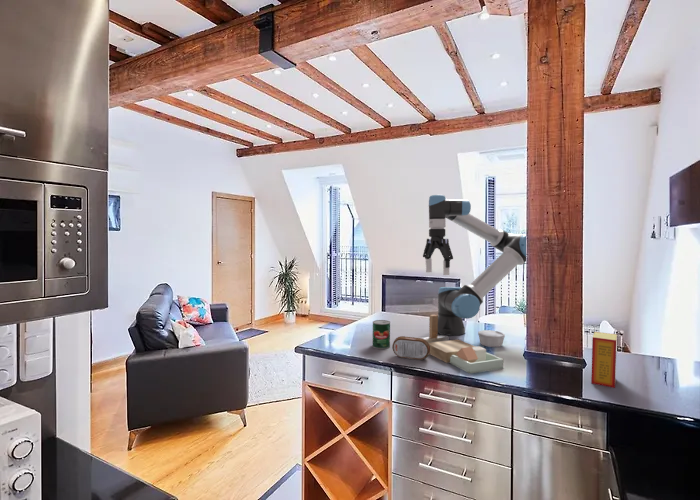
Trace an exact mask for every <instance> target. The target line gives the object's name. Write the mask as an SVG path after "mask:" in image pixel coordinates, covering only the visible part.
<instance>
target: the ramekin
mask: <svg viewBox="0 0 700 500" xmlns="http://www.w3.org/2000/svg"><path fill="white" fill-rule="evenodd" d="M477 335H478V339H479V343H480V344H481V345H482V346H484V347H488V348H499V347H503V344H504V340H505V337H506V334H505V333H503V332H501V331H497V330H489V329H484V330H479V331H478V333H477Z"/></svg>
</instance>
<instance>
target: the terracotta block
mask: <svg viewBox="0 0 700 500" xmlns="http://www.w3.org/2000/svg"><path fill="white" fill-rule="evenodd" d="M456 354H457V356H458V357H459V358H462V359H464V360H466V361H468V362H470V363H474V362H475V361H476V360H477V359H478V357H477V355H476V354H475V352H474V350H473V348H472V347H466V348H461V349H460V350H459V351H458V352H457V353H456Z"/></svg>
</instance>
